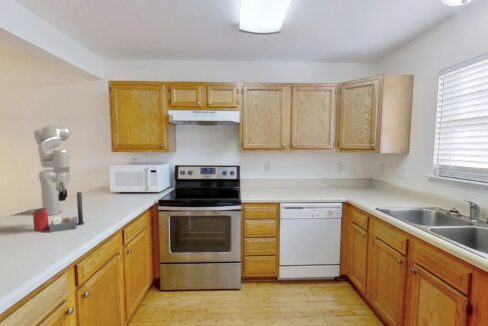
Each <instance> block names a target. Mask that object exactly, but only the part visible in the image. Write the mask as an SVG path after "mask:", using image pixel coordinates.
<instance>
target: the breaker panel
mask: <svg viewBox="0 0 488 326" xmlns="http://www.w3.org/2000/svg"><path fill="white" fill-rule="evenodd" d="M77 223H78V215H75V216H66V217H61V223H60V224H55V225H53V219H52V221H51V222H50V225H49V232H50V233H54V232H61V231H68V230H75V229H77V226H78V225H77Z"/></svg>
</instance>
